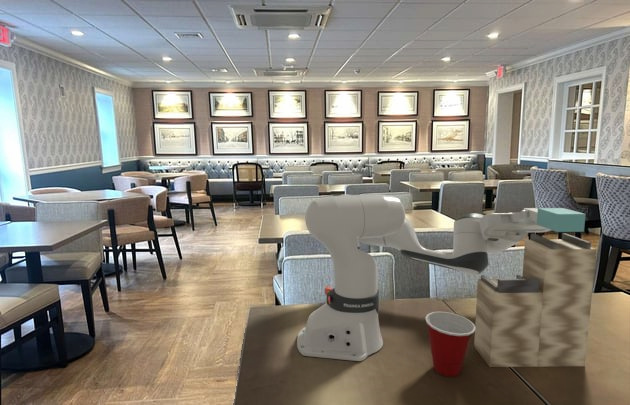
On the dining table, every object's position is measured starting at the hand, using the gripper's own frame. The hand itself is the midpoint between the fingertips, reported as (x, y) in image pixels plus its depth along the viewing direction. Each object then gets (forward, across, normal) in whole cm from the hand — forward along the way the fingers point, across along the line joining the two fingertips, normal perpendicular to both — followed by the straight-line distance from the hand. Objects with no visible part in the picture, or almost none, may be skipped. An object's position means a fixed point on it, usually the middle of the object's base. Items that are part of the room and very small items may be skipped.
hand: (535, 212), depth 100 cm
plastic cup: (-3, +26, -37) cm, 46 cm away
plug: (+4, 0, -4) cm, 6 cm away
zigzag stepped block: (-7, +6, -34) cm, 36 cm away
